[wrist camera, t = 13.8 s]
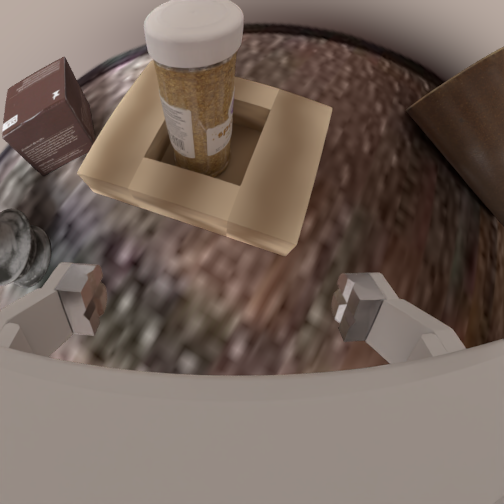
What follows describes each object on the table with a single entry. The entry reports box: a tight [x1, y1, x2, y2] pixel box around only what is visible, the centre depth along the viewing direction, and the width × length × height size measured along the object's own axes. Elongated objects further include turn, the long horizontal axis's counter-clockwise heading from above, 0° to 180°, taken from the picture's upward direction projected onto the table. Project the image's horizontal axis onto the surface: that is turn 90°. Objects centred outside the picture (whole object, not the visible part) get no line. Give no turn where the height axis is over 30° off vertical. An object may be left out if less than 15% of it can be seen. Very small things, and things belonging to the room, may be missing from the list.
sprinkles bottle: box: [144, 0, 244, 177], centre depth 16 cm, size 5×5×14 cm
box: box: [2, 57, 96, 176], centre depth 19 cm, size 6×6×7 cm
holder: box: [77, 60, 333, 256], centre depth 21 cm, size 16×12×4 cm
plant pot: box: [406, 47, 504, 226], centre depth 20 cm, size 15×15×16 cm
